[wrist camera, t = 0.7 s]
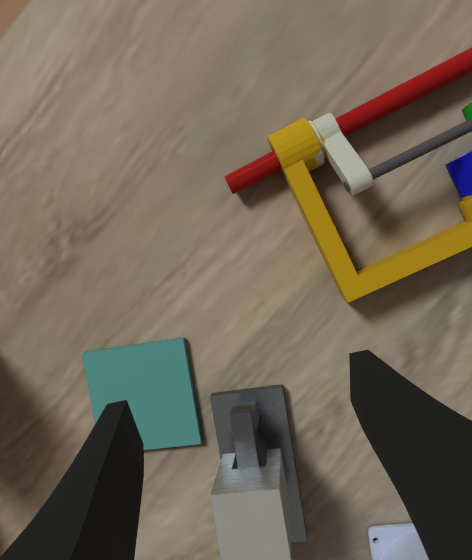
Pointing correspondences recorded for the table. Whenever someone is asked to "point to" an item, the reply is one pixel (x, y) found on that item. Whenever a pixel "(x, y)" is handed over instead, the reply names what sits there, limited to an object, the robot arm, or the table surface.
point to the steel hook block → (252, 510)
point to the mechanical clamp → (366, 178)
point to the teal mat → (148, 390)
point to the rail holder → (259, 437)
